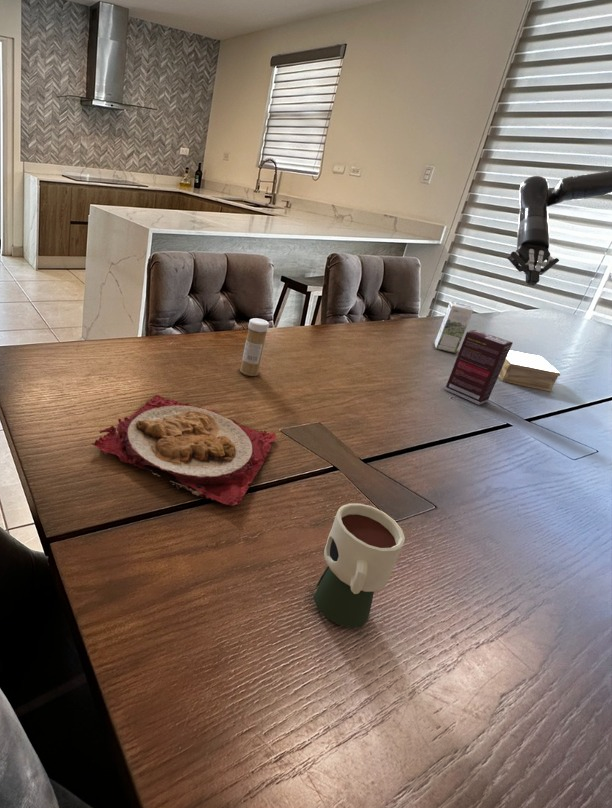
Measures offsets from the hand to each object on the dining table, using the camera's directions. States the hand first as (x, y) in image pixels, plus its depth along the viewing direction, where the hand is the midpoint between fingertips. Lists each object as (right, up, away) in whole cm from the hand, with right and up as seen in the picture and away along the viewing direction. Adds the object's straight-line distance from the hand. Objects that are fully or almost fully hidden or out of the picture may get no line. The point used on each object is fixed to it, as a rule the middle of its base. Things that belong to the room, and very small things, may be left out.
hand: (532, 283), depth 135 cm
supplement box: (-32, -30, -19) cm, 48 cm away
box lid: (-7, -22, -6) cm, 24 cm away
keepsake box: (-7, -27, -4) cm, 28 cm away
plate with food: (-102, -36, -52) cm, 120 cm away
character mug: (-86, -49, -79) cm, 126 cm away
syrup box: (-18, -19, +12) cm, 29 cm away
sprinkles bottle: (-86, -24, -21) cm, 92 cm away
